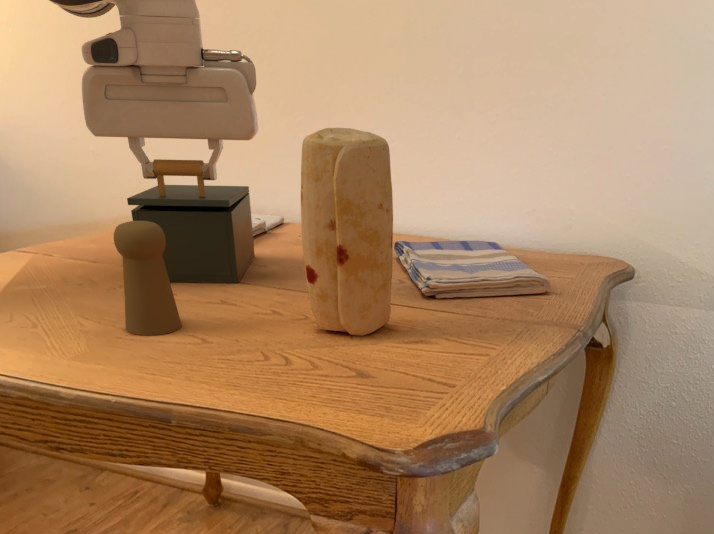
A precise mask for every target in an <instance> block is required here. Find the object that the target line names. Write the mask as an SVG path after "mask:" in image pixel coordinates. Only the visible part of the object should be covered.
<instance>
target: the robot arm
mask: <svg viewBox="0 0 714 534" xmlns="http://www.w3.org/2000/svg"><path fill="white" fill-rule="evenodd" d="M48 1H49V2H50V3H52V4H53V5H56V6H58V7H59V8H60V9H61V10H63V11H65V12H66V13H69V14H70V15H73V16H76V17H80V18H83V19H85V18H86V19H92V18H98V17H101V16H104V15H105V14H107V13H109V12H110V11H112V9H113V8H114V7H115V6H116V7H117V10H118V16H119V22H120V28H119V30H116V31H113V32H108V33H106V34H105V35H102V36H100V37H97V38H94V39H91V40H88V41H86V42H84V43H83V44H82V45H81V54H82V58H83V61H84V62H85V63H86V64H87V65H89V67H87V68H86V69H85V70H84V71H83V74H82V77H81V98H82V99H81V100H82V109H83V116H84V122H85V126H86V128H87V129H88V130H89V131H90V133H91V135H93V136H94V137H99V138H100V137H102V138H127V142H128V148H129V149H130V151H131V152H132V154H133V155H134V157H135V158H136V160H137V161H138V163H139V164H140V165H141V166H140V167H141V172H142V178H143V179H146V180H153V179H154V180H157V175H155V173H154V169H153V161H150V158H149V157H148V155H147V154H146V153H145V151H144V149H143V147H145V146H146V141H145V139H175V140H176V139H180V140H207V146H208V150H211V151H212V153H211V155H210V158H209V160H208V162H204V164H202V165H201V168H202V172H203V174H202V177H203V180H204V181H216V180H218V179H217V178H218V173H217V164H218V161H219V159H220V156H221V154H222V152H223V149H224V141H251V140H252V139H254V138H255V136H256V135H257V134H258V132H259V122H258V120H259V119H258V113H257V108H256V102H255V98H254V92H255V91H256V88H257V74H256V73H257V71H256V67H255V64H254V62H253V61H252V60H251V58H249V56H247V55H245V54H242V51H241V50H237V49H230V50H220V49H209V48H208V49H206V48H205V49H204V44H203V37H202V36H203V35H202V27H201V18H200V16H201V15H200V11H199V9H198V6H197V3H196V0H48ZM243 60H245V61H243Z"/></svg>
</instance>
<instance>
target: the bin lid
mask: <svg viewBox="0 0 714 534" xmlns="http://www.w3.org/2000/svg"><path fill="white" fill-rule="evenodd" d="M152 162H153V169H154V173H155V175H157V178H156V181H157V185H155V186H152V187H151V188H148V189H145V190H144V191H141V192H139V193H137V194H134V195H131V196H129V197H127V198H126V201H127V206H139V205H150V206H205V207H230V206H231V205H232V204H234V203H235V202H236V201H238V200H239V199H241V198H242V197H243V196H245V195H246V194H247V193H249V194H250V188H249V186H248V185H205V180H203V177H202V174H203V172H202V168H201V165H202V164H204V163H205V162H204V160H202V159H161V158H159V159H158V158H156V159H153V161H152ZM165 176H166V177H167V176H168V177H170V176H171V177H173V176H174V177H196V181H197V184H195V185H194V184H191V185H190V184H165V178H164V177H165Z"/></svg>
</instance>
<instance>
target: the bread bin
mask: <svg viewBox="0 0 714 534" xmlns="http://www.w3.org/2000/svg"><path fill="white" fill-rule="evenodd" d="M250 197H251V196H250V192H249V193H247V194H246V195H245V196H243V197H242V198H241V199H239V200H238V201H236V202H235V203H234V204H232V205H231V206H230V207H205V206H150V205H136V206H135V207H134V208H133V209H131V210H130V212H131V218H132V221H148V222H153V223H156V224H157V225H159V226H160V227H161V228H162V230H163V232H164V235H165V241H166V245H165V250H164V252H163V254H162V256H163V259H164V263H165V267H166V270H167V274H168V277H169V281H170V283H202V282H208V283H209V282H210V283H211V284H216V283H217V284H239V283H240V281H241V279H242V278H243V276H244V275H245V273H246V272H247V270H248V268H249V267H250V265H251V263H252V262H253V260H254V259H255V245H254V244H255V243H254V236H253V231H252V219H251V213H252V210H251V209H252V208H251V207H252V206H251V198H250ZM212 282H213V283H212Z"/></svg>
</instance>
